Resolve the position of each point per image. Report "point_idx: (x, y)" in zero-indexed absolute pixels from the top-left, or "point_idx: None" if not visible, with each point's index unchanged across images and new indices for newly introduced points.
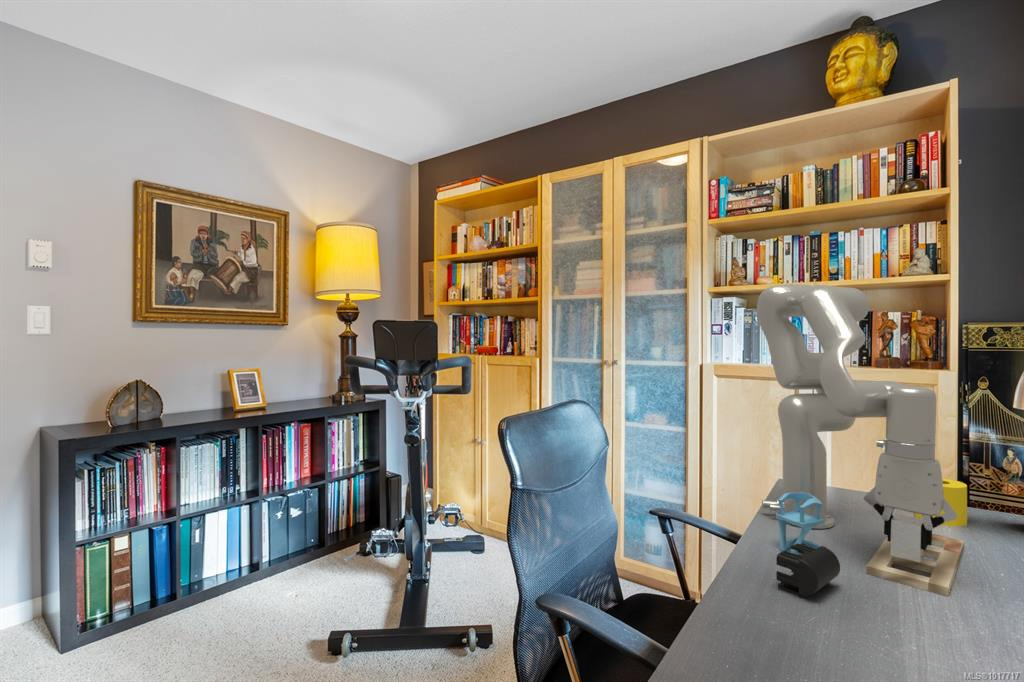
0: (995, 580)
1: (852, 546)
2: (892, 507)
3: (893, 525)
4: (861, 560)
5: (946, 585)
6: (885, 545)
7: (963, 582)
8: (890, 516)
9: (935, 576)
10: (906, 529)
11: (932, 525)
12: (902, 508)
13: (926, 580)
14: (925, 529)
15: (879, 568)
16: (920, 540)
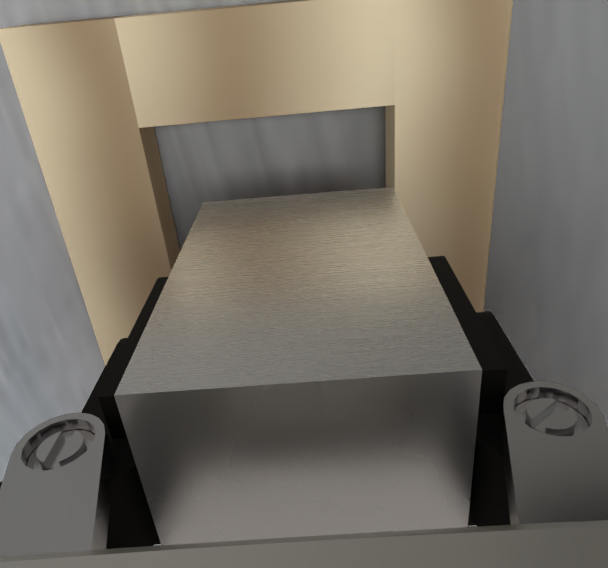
0: (4, 442)
1: (596, 374)
2: (554, 523)
3: (431, 323)
4: (539, 207)
5: (22, 67)
6: None
7: (69, 316)
8: (502, 455)
9: (127, 182)
10: (287, 322)
11: (13, 479)
12: (354, 548)
13: (135, 52)
14: (107, 411)
15: (427, 12)
16: (166, 289)
